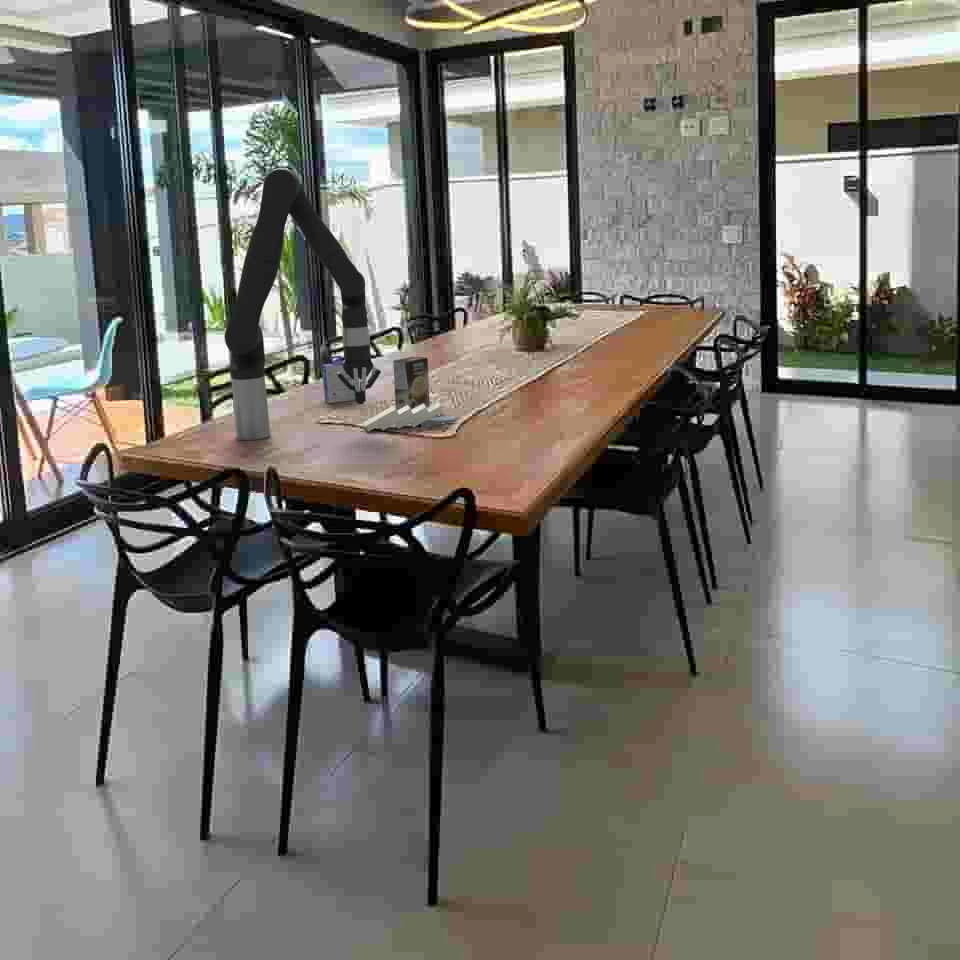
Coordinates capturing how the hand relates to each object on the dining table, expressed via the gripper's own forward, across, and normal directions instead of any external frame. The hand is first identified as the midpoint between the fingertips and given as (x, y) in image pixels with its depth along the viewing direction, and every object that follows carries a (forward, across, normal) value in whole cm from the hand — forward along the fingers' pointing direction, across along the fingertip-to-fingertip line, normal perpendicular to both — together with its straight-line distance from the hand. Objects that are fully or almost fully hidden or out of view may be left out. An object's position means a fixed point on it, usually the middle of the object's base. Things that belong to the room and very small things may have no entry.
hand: (360, 403), depth 311 cm
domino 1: (+7, +1, 0) cm, 7 cm away
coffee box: (+8, +20, +20) cm, 30 cm away
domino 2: (+7, +5, 0) cm, 9 cm away
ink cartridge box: (+8, +3, +48) cm, 49 cm away
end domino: (+8, +17, 0) cm, 18 cm away
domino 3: (+7, +10, 0) cm, 12 cm away
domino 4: (+7, +14, -1) cm, 16 cm away
